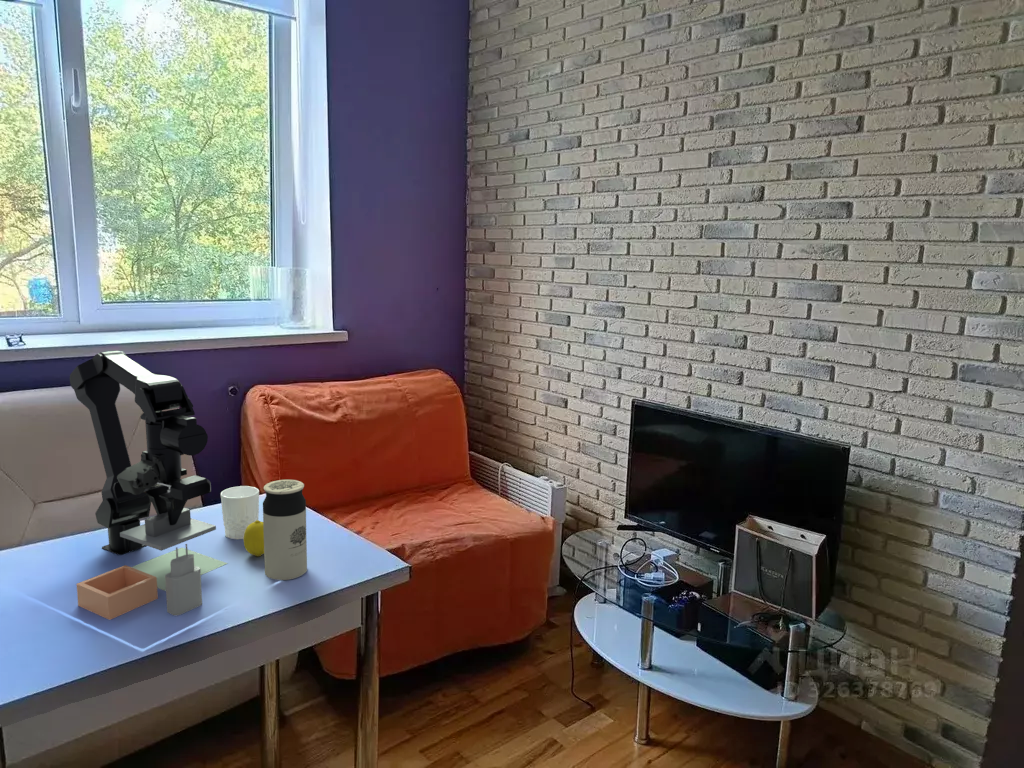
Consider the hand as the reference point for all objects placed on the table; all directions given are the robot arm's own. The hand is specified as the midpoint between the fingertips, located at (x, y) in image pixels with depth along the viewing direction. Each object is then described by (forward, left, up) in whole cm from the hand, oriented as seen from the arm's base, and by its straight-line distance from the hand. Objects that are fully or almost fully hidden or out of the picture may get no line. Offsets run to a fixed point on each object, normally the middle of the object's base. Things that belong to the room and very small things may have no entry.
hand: (168, 523), depth 139 cm
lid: (0, 0, -2) cm, 2 cm away
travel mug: (+19, +12, -10) cm, 24 cm away
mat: (0, +1, -10) cm, 10 cm away
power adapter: (+15, -8, -10) cm, 20 cm away
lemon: (+9, +14, -10) cm, 19 cm away
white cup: (-3, +20, -10) cm, 23 cm away
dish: (+4, -13, -10) cm, 17 cm away
